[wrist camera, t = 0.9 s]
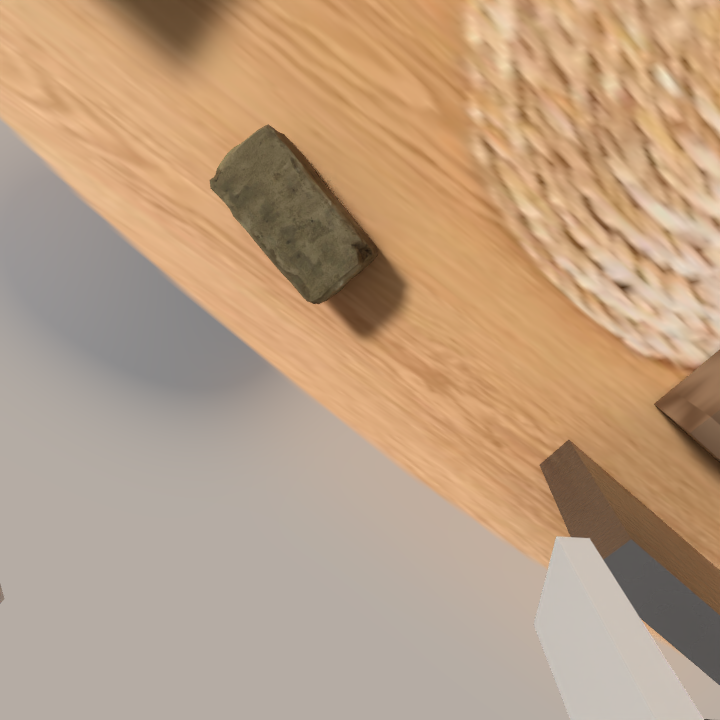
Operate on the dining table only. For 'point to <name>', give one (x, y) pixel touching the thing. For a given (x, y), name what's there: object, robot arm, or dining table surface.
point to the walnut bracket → (698, 405)
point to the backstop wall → (641, 556)
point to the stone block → (292, 215)
